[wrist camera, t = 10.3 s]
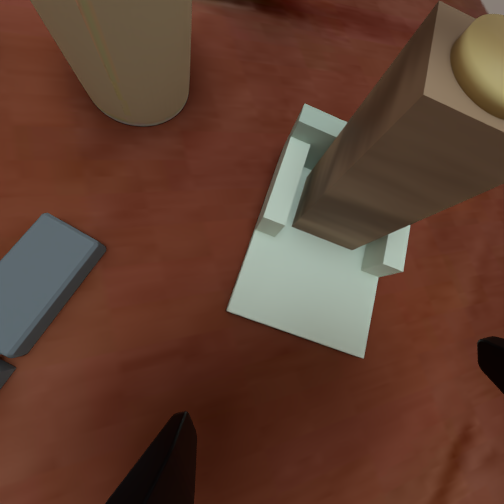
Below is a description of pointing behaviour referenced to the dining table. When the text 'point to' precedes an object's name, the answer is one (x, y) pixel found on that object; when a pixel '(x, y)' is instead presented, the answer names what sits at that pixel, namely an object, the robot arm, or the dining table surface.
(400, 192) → the walnut block
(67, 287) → the bracket
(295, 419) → the dining table surface
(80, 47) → the coffee cup
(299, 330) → the sage cradle
